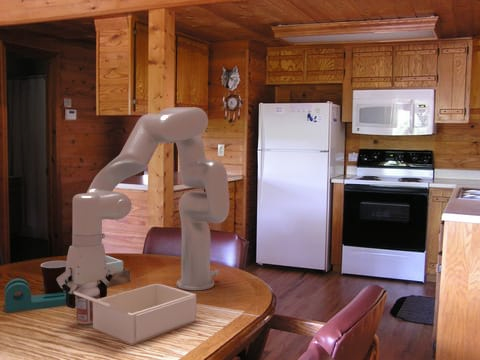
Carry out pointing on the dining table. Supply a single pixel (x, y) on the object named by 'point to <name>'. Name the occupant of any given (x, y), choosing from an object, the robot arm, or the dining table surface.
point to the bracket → (29, 298)
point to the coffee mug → (53, 276)
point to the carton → (144, 313)
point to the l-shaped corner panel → (114, 264)
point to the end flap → (100, 302)
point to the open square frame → (118, 278)
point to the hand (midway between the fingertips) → (86, 303)
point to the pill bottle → (86, 302)
